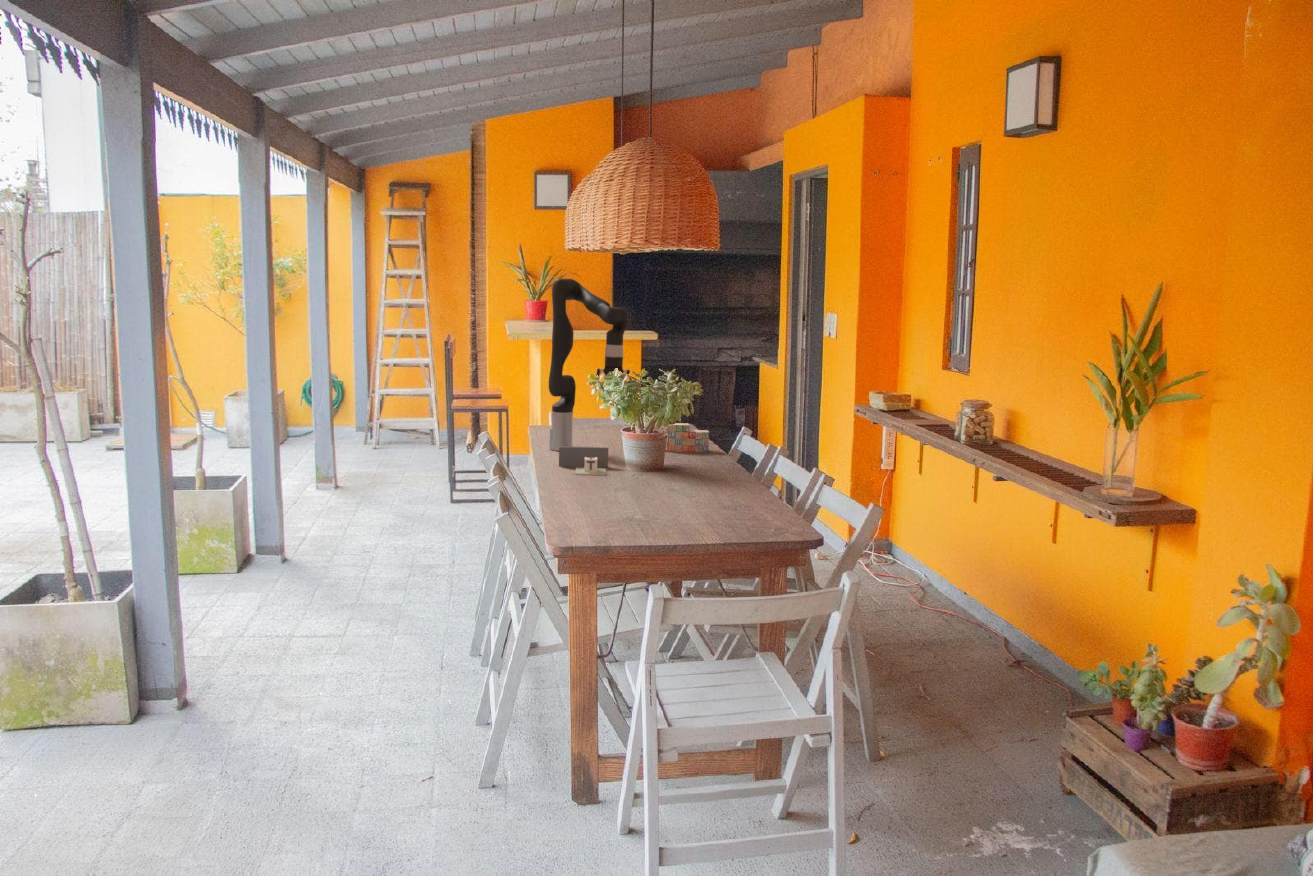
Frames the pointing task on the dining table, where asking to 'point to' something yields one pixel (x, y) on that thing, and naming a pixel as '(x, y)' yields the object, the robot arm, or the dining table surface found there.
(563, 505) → the dining table surface
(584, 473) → the sage pad
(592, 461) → the marked cube
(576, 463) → the charcoal wall
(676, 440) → the stack of blocks
